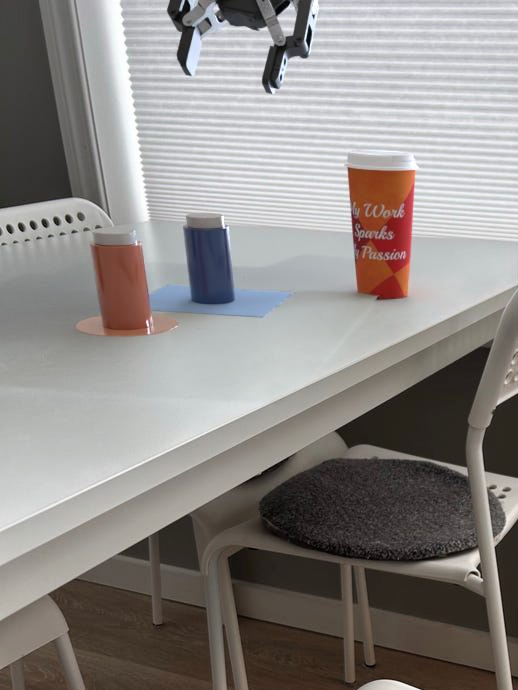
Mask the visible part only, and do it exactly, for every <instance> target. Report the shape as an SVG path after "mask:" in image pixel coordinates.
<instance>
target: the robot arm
mask: <svg viewBox="0 0 518 690" xmlns="http://www.w3.org/2000/svg"><path fill="white" fill-rule="evenodd" d="M196 1H197V4H196ZM216 5H217V7H218V10H217V11H216V12H214V8H215V7H216ZM291 5H293V7H294V10H295V13H296V17H295V22H294V28H293V32H292V33H293V34H292V35H285V34H284V30H283V28H282V26H281V24H280V22H279V19H278V17H280V15H282V14H283V13H284V12H285V11H287V10H288V9H289V8H290V6H291ZM319 8H320V6H319V2H318V0H169V1H168V5H167V8H166V13H167V14H168V17H169V18H170V20H171V22H172V23H173V25H174V27H175V29H176V31H177V32H179V33H181V35H180V38H179V42H178V47H177V51H176V60H177V61H178V63H179V65H180V69H182V72H183V73H184V75H185V76H189V77H194V76H195V74H196V70H197V65H198V63H199V58H200V53H201V50H202V46H203V42H202V40H203V39H204V38H206V36H208V35H209V34H210V33H211V32H212V31H215V32H217V31H219V30H220V29H222V28H223V27H224V26H225V25H226V24H228V23H229V25H230V26H232V27H239V28H240V27H246V28H248V29H250V30H252V31H256V32H260V31H261V29H264V28H267V31H268V32H269V34H270V37H271V39H272V41H273V45H269V49H268V53H267V57H266V60H265V64H264V69H263V72H262V77H261V84H262V87H263V89H264V91H265V93H266V94H270V95H274V94H275V92H276V90H280V89H281V87H282V86H283V82H284V78H285V74H286V70H287V67H288V62H289V60H291V59H292V58H294V57H300V58H301V59H302V60H303V59H308V58H309V57H310V55H311V50H312V46H313V40H314V35H315V31H316V25H317V18H318V13H319Z"/></svg>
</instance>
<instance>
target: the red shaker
mask: <svg viewBox="0 0 518 690" xmlns="http://www.w3.org/2000/svg"><path fill="white" fill-rule="evenodd" d="M91 232H92V239H93V241H90V242H89V243H88V246H89V251H90V258H91V264H92V271H93V276H94V281H95V283H94V284H95V288H96V294H97V301H98V307H99V312H100V316H101V320H102V325H103V326H104V327H106V328H110V329H118V330H131V329H140V328H145V327H148V326H151V325H152V323H153V321H152V314H153V313H152V311H151V307H150V299H149V294H150V292H149V284H148V278H147V271H146V263H145V256H144V249H143V242H141V241H140V240H138V239H137V231H136V230H135V229H134V228H130V227H129V228H128V227H100V228H95V229H93V230H91Z"/></svg>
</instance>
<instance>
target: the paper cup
mask: <svg viewBox="0 0 518 690" xmlns="http://www.w3.org/2000/svg"><path fill="white" fill-rule="evenodd" d="M416 160H417V159H416V158H415V156H414V153H412V152H408V151H401V150H386V149H355V150H349V151H348V152H347V159H346V162H345V163H344V164H343V166H344V167H346V168H347V179H348V180H347V181H348V190H349V191H348V193H349V194H348V195H349V205H350V219H351V231H352V244H353V245H352V246H353V255H354V266H355V268H354V269H355V279H356V288H357V293H359V294H365V295H370V296H376V299H379V300H392V299H400V298H404V297H407V296H408V293H409V288H410V287H409V285H410V272H411V271H410V270H411V256H412V255H411V254H412V237H413V222H414V221H413V220H414V202H415V201H414V200H415V184H416V183H415V182H416V171H418V170H420V167H419V166H418V164H416Z"/></svg>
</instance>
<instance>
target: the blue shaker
mask: <svg viewBox="0 0 518 690" xmlns="http://www.w3.org/2000/svg"><path fill="white" fill-rule="evenodd" d="M185 220H186V222H185V223H186V224H184V225H183V226H182V231H183V239H184V250H185V258H186V268H187V276H188V284H189V285H188V286H190V294H191V300H192V301H193V302H196V303H201V304H224V303H230V302H233V301H234V300H235V291H234V289H235V283H234V282H235V281H234V269H233V258H232V249H231V248H232V247H231V237H230V227H229V226H228V225H227V224H225V216H224V214H221V213H216V212H215V213H214V212H192V213H187V214H186V215H185Z"/></svg>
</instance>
